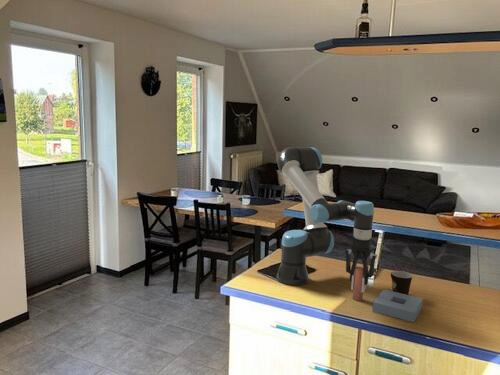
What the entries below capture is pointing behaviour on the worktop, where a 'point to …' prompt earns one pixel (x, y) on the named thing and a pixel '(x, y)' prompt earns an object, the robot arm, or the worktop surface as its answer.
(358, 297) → the peg
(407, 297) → the socket slab
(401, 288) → the coffee mug
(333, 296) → the worktop surface
